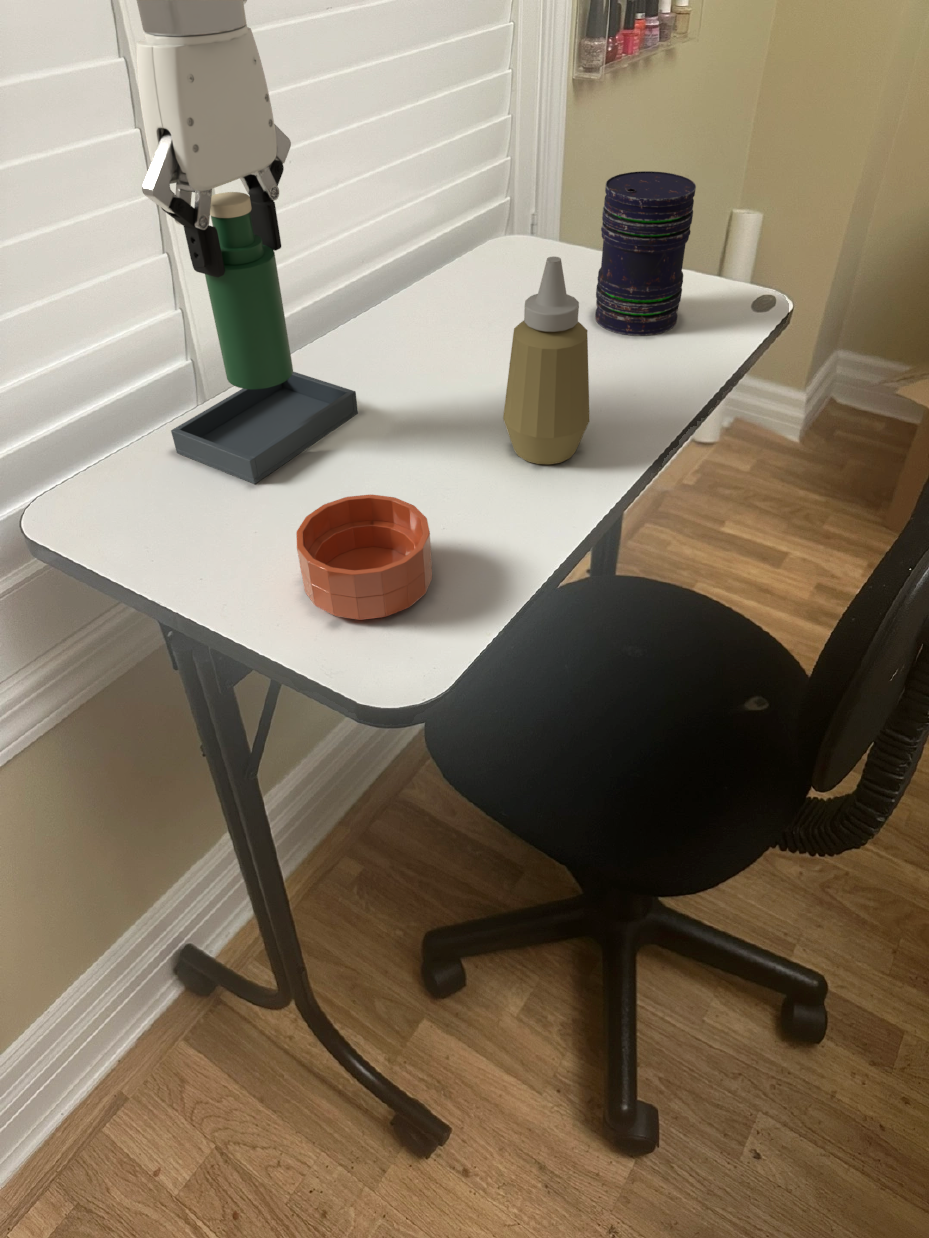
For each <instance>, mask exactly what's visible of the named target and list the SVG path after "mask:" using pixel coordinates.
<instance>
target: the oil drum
mask: <svg viewBox="0 0 929 1238" xmlns="http://www.w3.org/2000/svg"><path fill="white" fill-rule="evenodd" d="M696 190H697V185H696V183H695V182H694V181H693V180H692V179H690V178H688V177H685V176H683V175H680V174H676V173H672V172H671V173H670V172H664V171H653V170H652V171H651V170H649V171H648V170H645V171H644V170H642V171H630V172H624V173H619V174H616V175H613V176H611V177H610V178H608V179H607V180H606V182H605V187H604V192H605V193H604V194H605V196H604V201H603V203H604V204H603V207H602V212H601V213H602V216H601V221H602V225H601V228H600V231H601V238H602V251H601V252H602V253H601V262H600V268H599V269H598V273H597V284H596V290H595V291H596V292H595V298H596V301H595V302H596V303H595V306H596V309H595V313H594V319H595V322H596V323H597V324H598V325H599V326H600V327H602V328H603V329H605V330H607V331H610V332H611V333H616V334H619V335H624V336H634V337H642V336H643V337H645V336H646V337H647V336H655V335H661V334H663V333H666V332H668V331H670V330H671V329H673V328H674V327H675V326H676V324H677V322H678V321H677V320H678V310H679V308H680V303H681V300H682V293H683V283H684V272H683V264H684V258H685V257H684V256H685V249H686V244H687V243H688V241H689V239H690V236H691V227H692V223H693V216H694V204H695V203H694V202H695V199H694V197H695V196H696Z"/></svg>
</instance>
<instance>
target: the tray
mask: <svg viewBox="0 0 929 1238" xmlns="http://www.w3.org/2000/svg"><path fill="white" fill-rule="evenodd" d="M358 414H359V411H358V401H357V392H356V390H353V389H349V388H346V387H343V386H340V385H337V384H333V383H331V382H329V381H325V380H321V379H319V378H315V377H312V376H309V375H305V374H303V373H299V372H297V371H293V373H292V375H291V377H290V378H289V379H288V380H286V381H285V382H283V383H281V384H279V385H276V386H273V387H269V388H264V389H243V388H240V389H239V390H238V391H236V392H234V393H233V394H231V395H229V396H227V397H226V398H224V399H222V400H220V401H219V402H217V403H215V404H214V405H212V406H210V407H208V408H206V409H204V410H203V411H202V412H200V413H198V414H197V415H194V416H193V417H191V418H190V419H188V420H186V421H185V422H183V423H181V424H179V425H178V426H176V427H174V428H172V429H171V430H170V433H171V436H172V440H173V444H174V447H175V448H174V449H175V452H176V454H179V455H181V456H183V457H186V458H188V459H191V460H193V461H196V462H197V463H201V464H203V465H206V466H208V467H211V468H213V469H216V470H217V471H221V472H223V473H226V474H228V475H231V476H234V477H235V478H238V479H240V480H244V481H246V482H248V483H251V484H254V485H255V484H257V483H259V482H260V481H261V480H263V479H265V478H267V476H270V475H271V474H272V473H273V472H275V471H276V470H278V469H279V468H281V467H282V466H283V465H285V464H286V463H288V462H289V461H291V460H292V459H294V458H295V457H297V456H298V455H299V454H301V453H303V452H304V451H305V450H307V449H309V448H310V447H311V446H313V445H314V444H316V443H317V442H319V441H320V440H322V439H323V438H325V437H326V436H328V435H329V434H330V433H332V432H334V430H336V429H337V428H339V427H340V426H342V425H343V424H345V423H346V422H348V421H349V420H350V419H352V418H354V417H355V416H356V415H358Z"/></svg>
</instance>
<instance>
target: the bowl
mask: <svg viewBox="0 0 929 1238" xmlns="http://www.w3.org/2000/svg"><path fill="white" fill-rule="evenodd" d="M431 544H432V543H431V531H430V527H429V522H428V518H427V517H426V516H425V515H424V513H422V512H421V511H420V510H419V509H418V507H417V506H415V505H414V504H411V503H410V502H407V501H404V500H402V499H400V498H397V497H395V496H389V495H379V494H362V495H351V496H344V497H343V498H342V497H341V498H339V499H336V500H332V501H330V502H327V503H324V504H322V505H321V506H319V507H318V508H316V509H315V510H314V511H312V512H311V513H309V514H308V515H306V516H305V517H304V519H303V520H302V522H301V524H300V525H299V527H298V528H297V530H296V550H297V551H296V552H297V554H298V555H297V556H298V562H299V567H300V572H301V578H302V583H303V590H304V593H305V594H306V595H307V597H308V598H309V599H310V601H311V602H312V603H313V606H315V607H317V608H318V609H320V610H323V611H325V612H327V613H328V614H330V615H332V616H335V617H338V618H345V619H351V620H358V621H359V620H370V619H379V618H386V617H389V616H392V615H394V614H396V613H399V612H401V611H404V610H407V609H409V608H411V607H412V606H413V605H414V604H416V602H417V601H419V600H420V599H421V598H422V597H423V596H425V595H426V593H427V592H428V589H429V586H430V585H431V582H432V579H433V562H432V546H431Z"/></svg>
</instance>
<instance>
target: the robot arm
mask: <svg viewBox="0 0 929 1238" xmlns="http://www.w3.org/2000/svg"><path fill="white" fill-rule="evenodd" d="M247 2H248V0H136V4H137V9H138V14H139V17H140V22H141V26H142V31H143V32H142V33H143V36H144V39H140V40H137V41H136V71H137V72H136V73H137V84H138V94H139V101H140V108H141V110H140V111H141V116H142V123H143V129H144V134H145V139H146V144H147V150H148V155H149V160H150V165H149V168H148V170H147V173H146V175H145V178H144V181H143V183H142V186H141V192H142V193H143V195H144V196H145V197H146V198H148V199H149V200H150V201H151V202H153V203H154V204H155V205H156V206H159V207H160V208H161V210H162V211H163V212H164V213H166V214H167V215H169V216H170V217H171V218H173V220H174V222H175V223H176V224H178V225H180V226H183V230H184V236H185V240H186V244H187V249H188V254H189V257H190V261H191V265H192V269H193V270H194V271H195V272H196V273H199V274H203V275H205V274H207V275H210V276H214V277H218V278H219V277H221V276H223V275H224V273H225V268H224V263H223V258H222V253H221V248H220V243H219V238H218V233H217V229H216V227H213V225H210V219H211V215H210V208H211V196H212V195H213V189H216V188H218V187H221V186H223V185H226V184H229V183H231V182H234V181H236V180H239V179H240V182H241V183H242V185H243V187H244V189H245V191H246V194H247V195H249V197H250V202H251V207H252V209H251V211H250V216H251V222H252V228H253V233H254V235H257V236H259V237H260V238H261V239H262V244H263V245H265V246H268V247H270V248H271V249H273V251H274V252H277V251H278V250H280V249H281V248H282V239H281V233H280V227H279V222H278V214H277V207H276V202H275V201H277V200H278V199H279V197H280V189H279V184H280V181H281V180H282V179H281V178H282V176H283V174H284V164H285V163H286V160H287V158H288V155H289V152H290V150H291V146H292V142H291V139H290V137H288V136H287V134H285V133H284V131H283V130H281V128H280V127H278V125H276V123H275V120H274V114H273V113H274V112H273V108H272V103H271V98H270V93H269V92H270V91H269V88H268V84H267V79H266V75H265V71H264V68H263V64H262V59H261V57H260V53H259V49H258V46H257V44H256V39H255V37H254V34H253V30H252V28H251V27H248V24H247V17H246V10H245V5H246V3H247ZM171 184H175V192H173V190H172V189H171ZM193 193H194V196H195V197H194V206H193V205H192V197H193Z"/></svg>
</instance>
